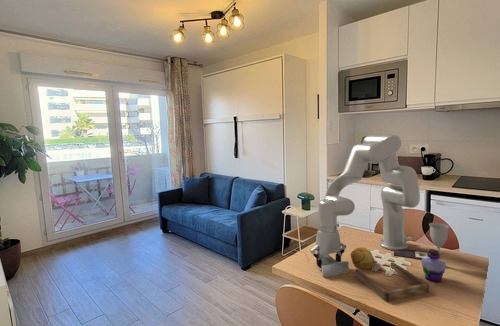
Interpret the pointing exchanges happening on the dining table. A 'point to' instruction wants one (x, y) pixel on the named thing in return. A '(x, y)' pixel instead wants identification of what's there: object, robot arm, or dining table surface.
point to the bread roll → (362, 258)
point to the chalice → (438, 234)
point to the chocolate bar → (411, 254)
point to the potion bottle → (433, 266)
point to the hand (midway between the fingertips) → (328, 265)
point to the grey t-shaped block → (333, 266)
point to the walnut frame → (399, 293)
